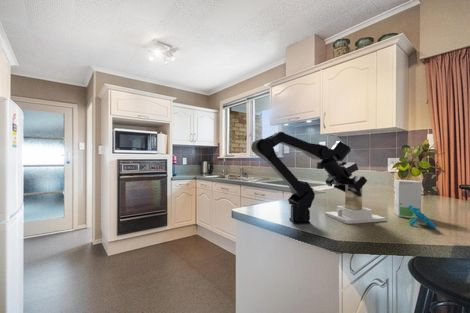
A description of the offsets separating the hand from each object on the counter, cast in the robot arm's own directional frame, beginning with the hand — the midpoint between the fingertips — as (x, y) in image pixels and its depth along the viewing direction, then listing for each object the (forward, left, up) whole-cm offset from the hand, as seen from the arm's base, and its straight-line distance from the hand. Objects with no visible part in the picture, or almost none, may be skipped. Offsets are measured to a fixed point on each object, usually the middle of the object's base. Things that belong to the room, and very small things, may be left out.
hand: (356, 195), depth 96 cm
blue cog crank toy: (+17, -13, -10) cm, 23 cm away
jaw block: (-1, 0, -7) cm, 7 cm away
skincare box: (+24, +1, -10) cm, 26 cm away
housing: (-1, 0, -10) cm, 10 cm away
